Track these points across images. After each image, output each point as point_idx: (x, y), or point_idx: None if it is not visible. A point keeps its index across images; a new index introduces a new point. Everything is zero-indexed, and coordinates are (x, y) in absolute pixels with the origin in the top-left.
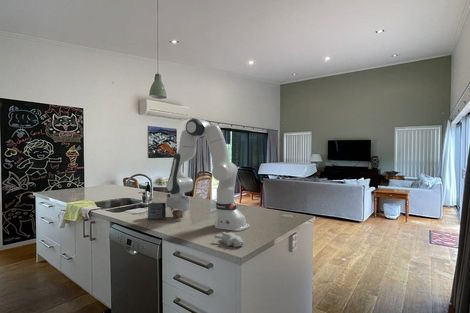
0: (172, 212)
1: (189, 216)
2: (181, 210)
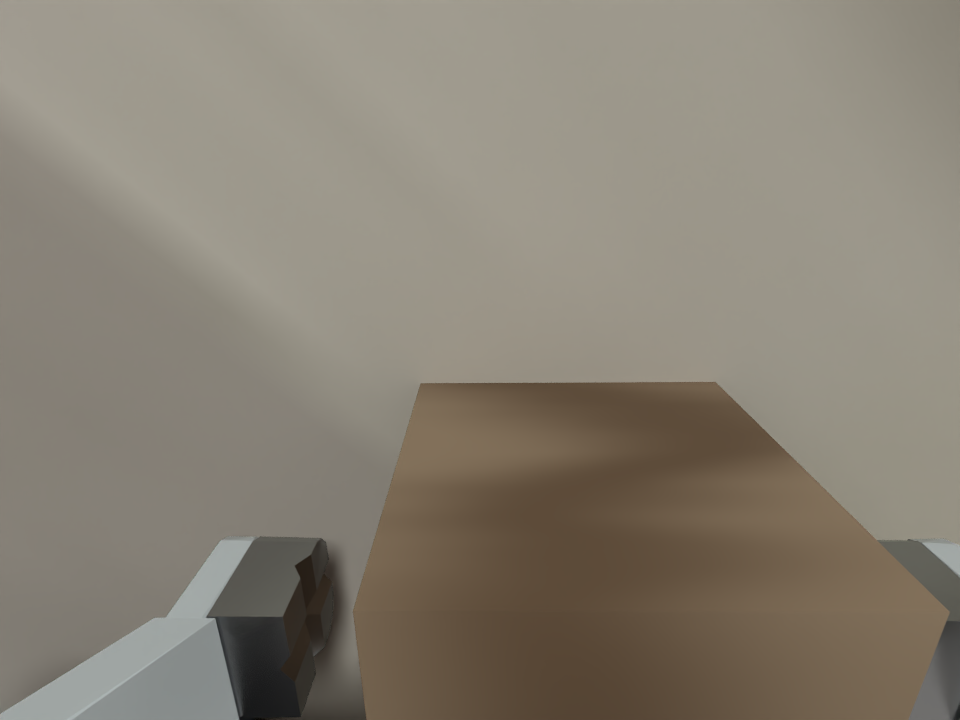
0: (249, 691)
1: (889, 111)
2: (845, 712)
